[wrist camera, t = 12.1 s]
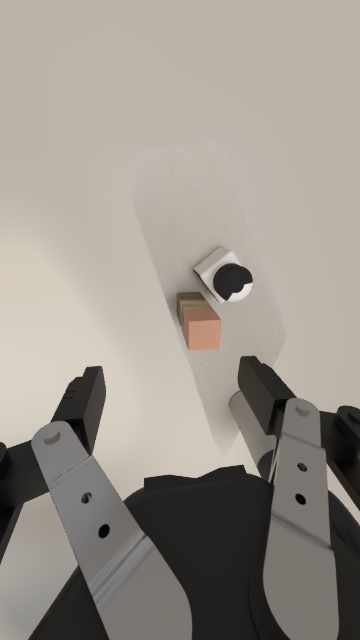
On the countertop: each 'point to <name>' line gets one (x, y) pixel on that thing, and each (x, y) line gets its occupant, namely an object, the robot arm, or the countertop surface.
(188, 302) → the tower top
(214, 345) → the clay block
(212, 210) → the countertop surface
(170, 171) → the countertop surface
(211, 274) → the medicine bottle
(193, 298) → the tower bottom
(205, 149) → the countertop surface
